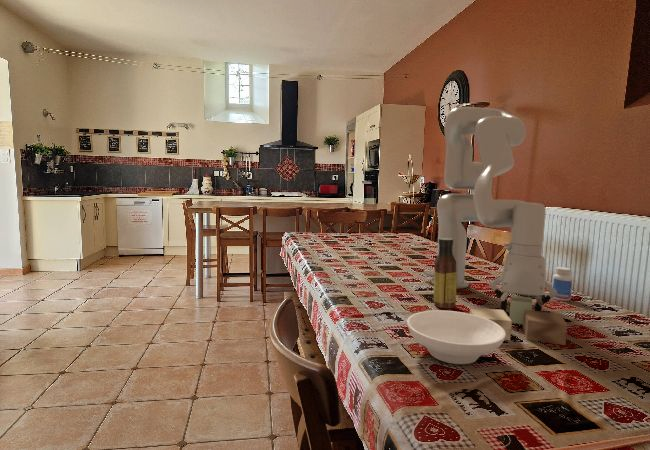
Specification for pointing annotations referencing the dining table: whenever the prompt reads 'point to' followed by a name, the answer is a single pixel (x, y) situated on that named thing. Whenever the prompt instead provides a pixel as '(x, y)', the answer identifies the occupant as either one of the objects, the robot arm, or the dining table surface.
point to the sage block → (519, 308)
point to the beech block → (495, 318)
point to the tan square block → (544, 327)
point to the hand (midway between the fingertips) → (520, 316)
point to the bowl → (455, 335)
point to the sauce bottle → (445, 275)
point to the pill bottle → (562, 283)
